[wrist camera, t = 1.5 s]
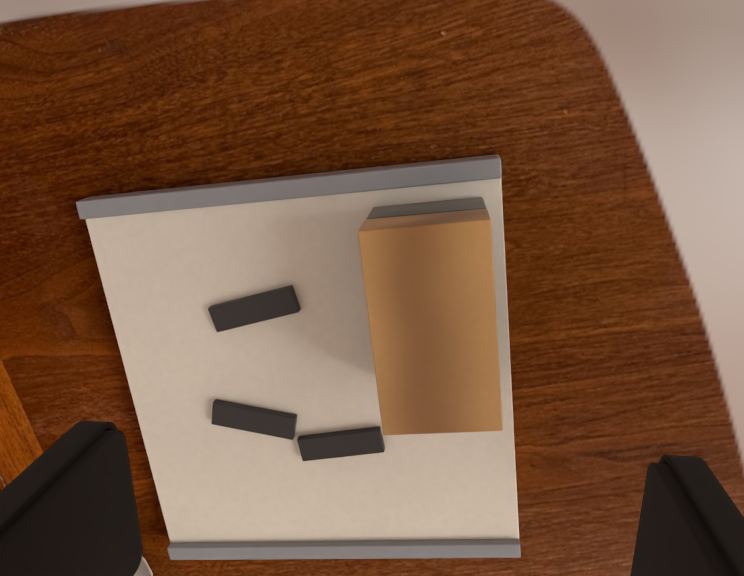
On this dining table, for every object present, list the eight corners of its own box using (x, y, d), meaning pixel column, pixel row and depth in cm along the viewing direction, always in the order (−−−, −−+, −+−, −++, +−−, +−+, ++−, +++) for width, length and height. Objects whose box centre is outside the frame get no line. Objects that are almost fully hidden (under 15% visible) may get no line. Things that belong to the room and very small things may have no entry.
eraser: (483, 196, 24) (491, 219, 20) (493, 376, 26) (503, 431, 22) (372, 206, 25) (357, 231, 20) (392, 381, 27) (382, 436, 23)
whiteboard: (498, 153, 24) (501, 157, 23) (517, 537, 30) (521, 557, 29) (92, 196, 27) (74, 201, 26) (180, 541, 33) (169, 560, 31)
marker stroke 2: (297, 414, 28) (295, 418, 28) (294, 435, 29) (292, 440, 28) (215, 398, 28) (212, 402, 28) (213, 420, 29) (211, 424, 28)
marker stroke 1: (292, 284, 26) (290, 287, 26) (301, 309, 26) (299, 312, 26) (210, 305, 27) (206, 308, 27) (219, 329, 27) (216, 332, 27)
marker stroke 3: (380, 425, 28) (379, 430, 27) (385, 448, 28) (384, 452, 28) (298, 435, 28) (296, 440, 28) (304, 456, 29) (302, 461, 28)
